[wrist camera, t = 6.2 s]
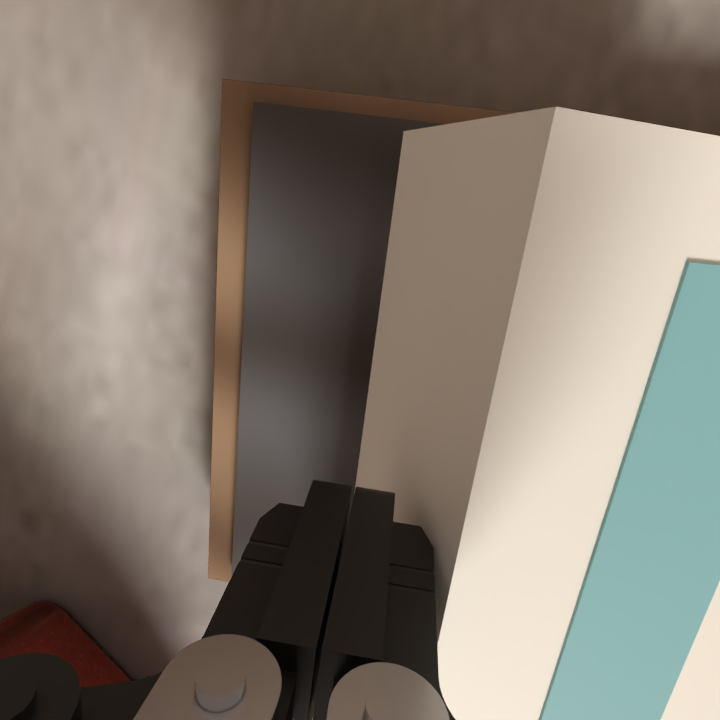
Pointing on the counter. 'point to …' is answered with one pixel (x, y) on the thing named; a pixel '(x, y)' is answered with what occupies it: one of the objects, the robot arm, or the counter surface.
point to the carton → (558, 410)
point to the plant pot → (57, 642)
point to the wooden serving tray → (298, 291)
